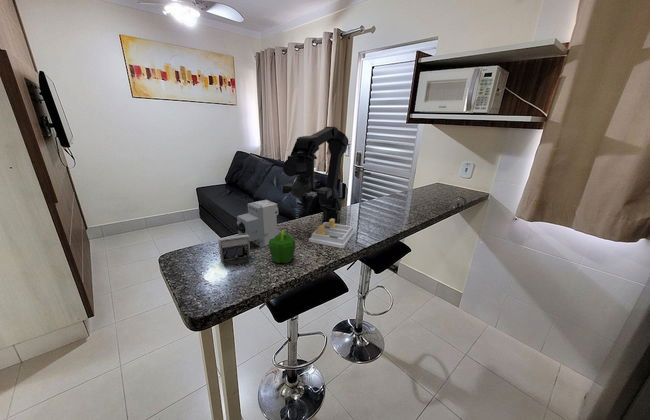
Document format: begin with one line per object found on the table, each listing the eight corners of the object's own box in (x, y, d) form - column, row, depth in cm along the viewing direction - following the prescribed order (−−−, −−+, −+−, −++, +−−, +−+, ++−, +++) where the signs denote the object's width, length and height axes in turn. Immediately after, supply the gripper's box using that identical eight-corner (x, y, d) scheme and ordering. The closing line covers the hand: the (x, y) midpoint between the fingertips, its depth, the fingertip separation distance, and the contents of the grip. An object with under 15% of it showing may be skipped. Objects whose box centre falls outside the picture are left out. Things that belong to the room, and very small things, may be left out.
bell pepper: (286, 269, 78) (285, 239, 75) (265, 262, 82) (263, 234, 78) (300, 257, 85) (300, 230, 82) (280, 251, 89) (279, 225, 86)
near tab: (316, 236, 98) (316, 226, 97) (319, 234, 101) (319, 223, 99) (323, 238, 97) (323, 227, 96) (326, 235, 100) (326, 225, 98)
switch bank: (309, 241, 97) (309, 234, 96) (324, 227, 111) (324, 220, 110) (343, 248, 92) (344, 240, 91) (354, 232, 106) (355, 225, 105)
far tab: (327, 230, 105) (327, 220, 103) (329, 227, 107) (329, 217, 106) (333, 231, 104) (334, 221, 102) (336, 228, 106) (336, 219, 105)
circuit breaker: (235, 245, 92) (231, 206, 88) (268, 234, 102) (266, 199, 97) (245, 252, 87) (242, 212, 83) (279, 240, 97) (278, 203, 92)
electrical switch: (250, 255, 86) (248, 231, 82) (252, 264, 81) (250, 239, 78) (220, 260, 82) (217, 236, 78) (221, 270, 78) (218, 244, 74)
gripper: (273, 173, 89) (274, 214, 94) (321, 178, 83) (320, 222, 88) (288, 169, 99) (289, 206, 104) (332, 173, 93) (331, 212, 98)
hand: (306, 211), depth 98 cm, fingers closed
